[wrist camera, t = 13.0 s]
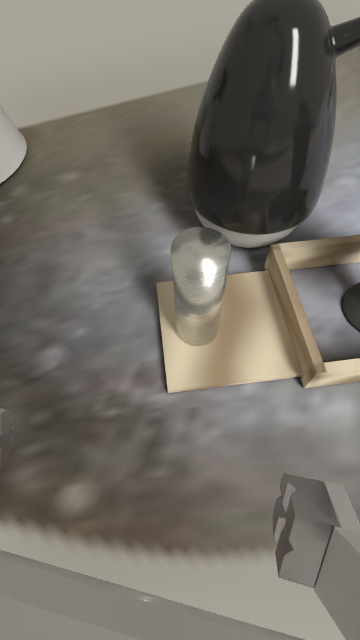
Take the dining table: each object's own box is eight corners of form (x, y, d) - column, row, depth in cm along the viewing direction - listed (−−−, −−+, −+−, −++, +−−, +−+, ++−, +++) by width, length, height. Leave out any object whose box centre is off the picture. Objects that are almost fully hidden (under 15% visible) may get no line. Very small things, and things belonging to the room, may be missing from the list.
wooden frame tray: (169, 405, 21) (160, 344, 14) (155, 278, 26) (144, 186, 19) (455, 368, 22) (584, 294, 15) (387, 253, 27) (458, 157, 20)
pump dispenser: (311, 272, 27) (430, 32, 14) (181, 263, 27) (175, 27, 14) (301, 188, 32) (380, -43, 19) (192, 182, 33) (195, -44, 20)
